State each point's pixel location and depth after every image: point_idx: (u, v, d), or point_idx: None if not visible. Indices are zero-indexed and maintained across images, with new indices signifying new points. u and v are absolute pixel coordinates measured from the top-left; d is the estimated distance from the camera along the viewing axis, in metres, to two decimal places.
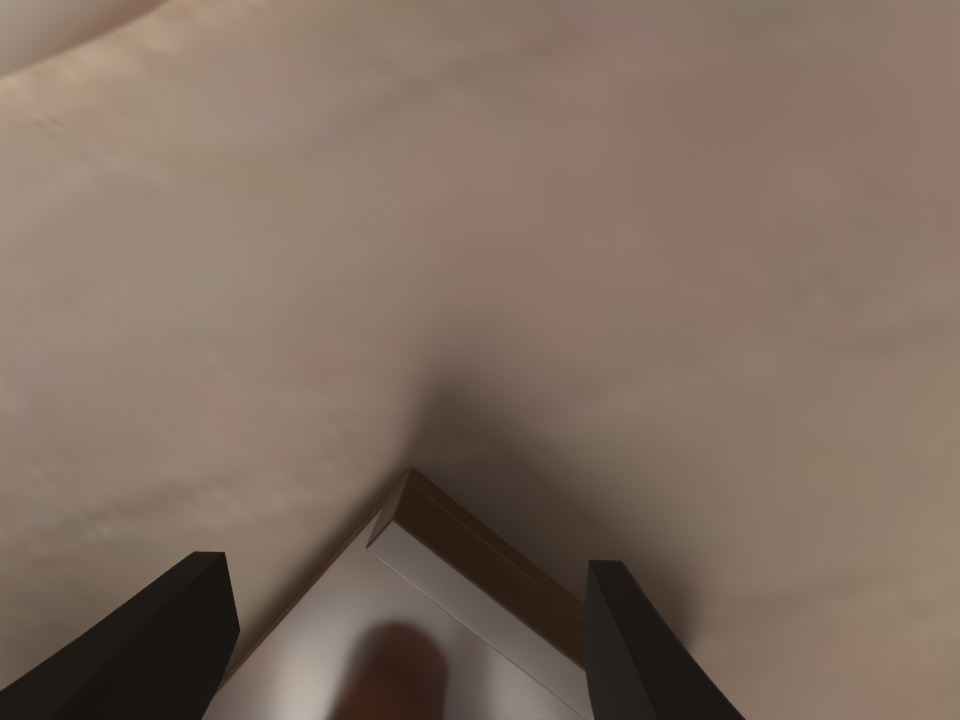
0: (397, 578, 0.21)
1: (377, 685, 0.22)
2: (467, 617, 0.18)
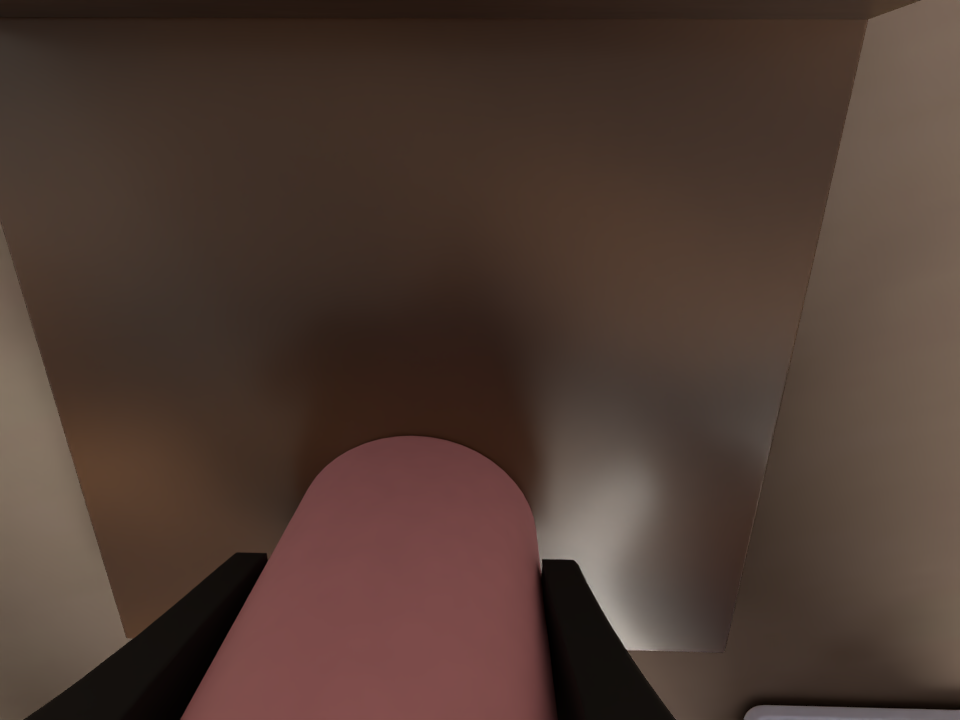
0: (106, 147, 0.09)
1: (277, 377, 0.11)
2: None
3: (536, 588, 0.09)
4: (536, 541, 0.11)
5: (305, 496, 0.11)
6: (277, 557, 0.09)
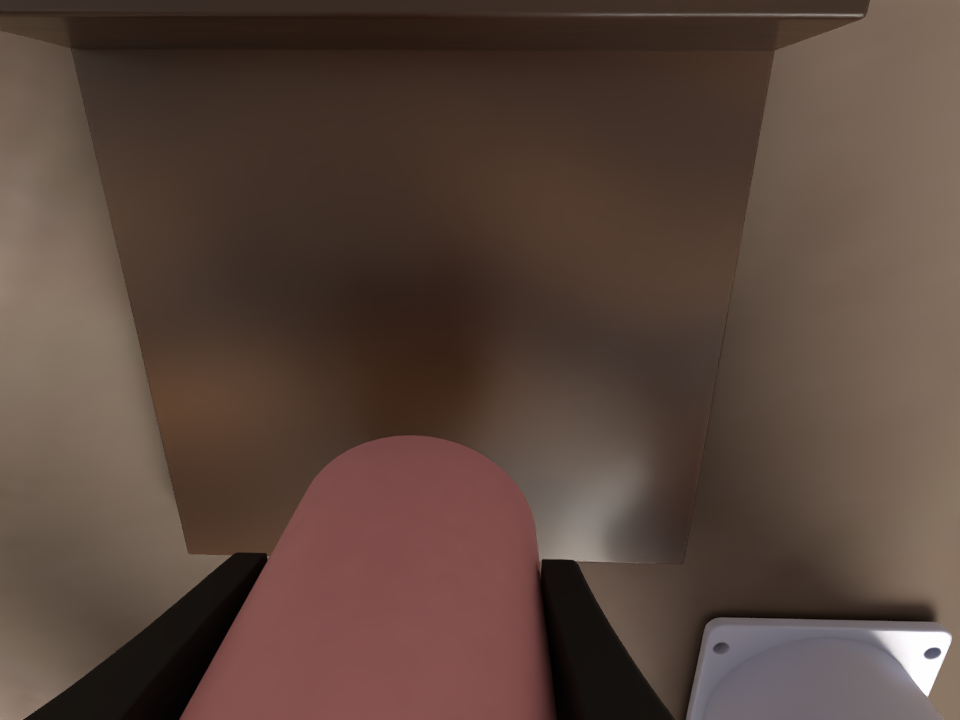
0: (193, 147, 0.12)
1: (320, 330, 0.14)
2: None
3: (535, 587, 0.09)
4: (536, 540, 0.11)
5: (305, 495, 0.11)
6: (277, 556, 0.09)
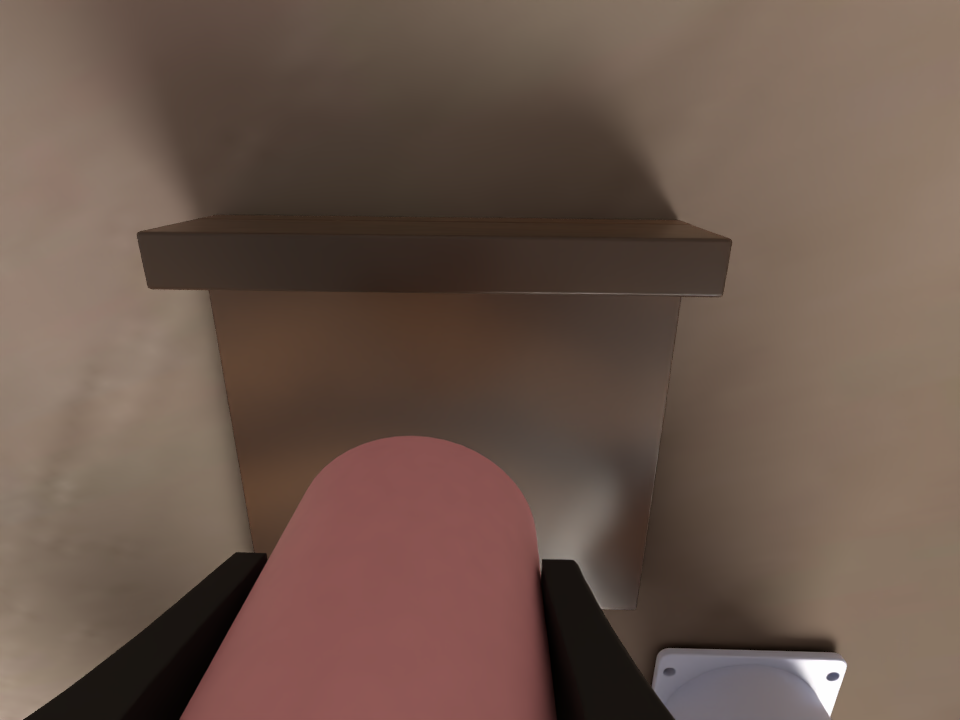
0: (284, 328, 0.18)
1: None
2: (301, 279, 0.14)
3: (535, 588, 0.09)
4: (536, 541, 0.11)
5: (304, 496, 0.11)
6: (276, 557, 0.09)
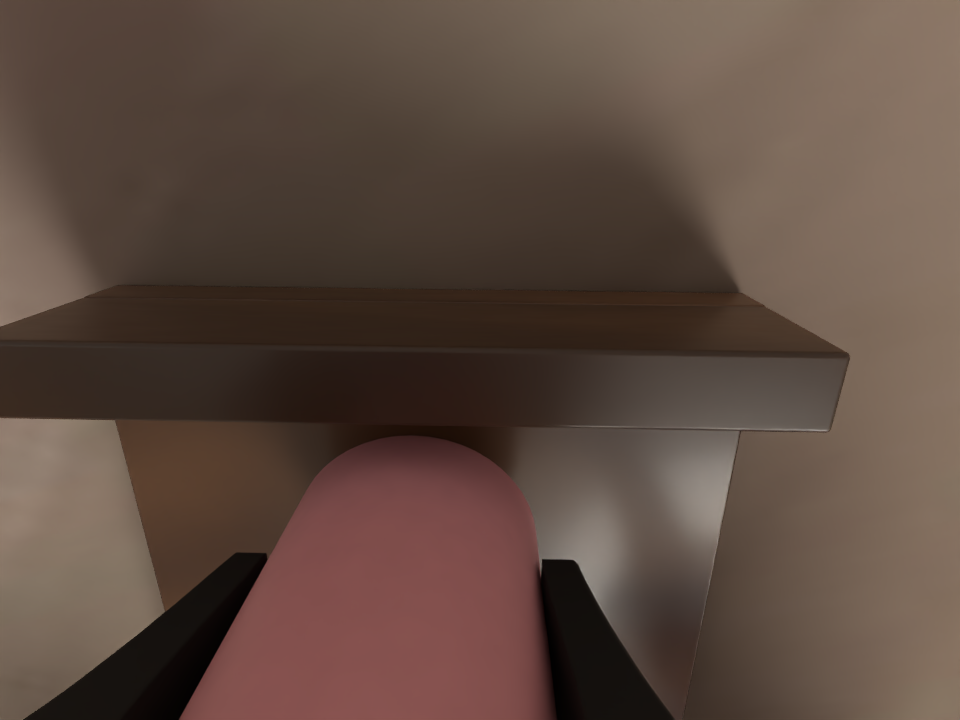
0: (212, 436, 0.13)
1: None
2: (208, 406, 0.09)
3: (535, 588, 0.09)
4: (536, 541, 0.11)
5: (304, 496, 0.11)
6: (276, 557, 0.09)
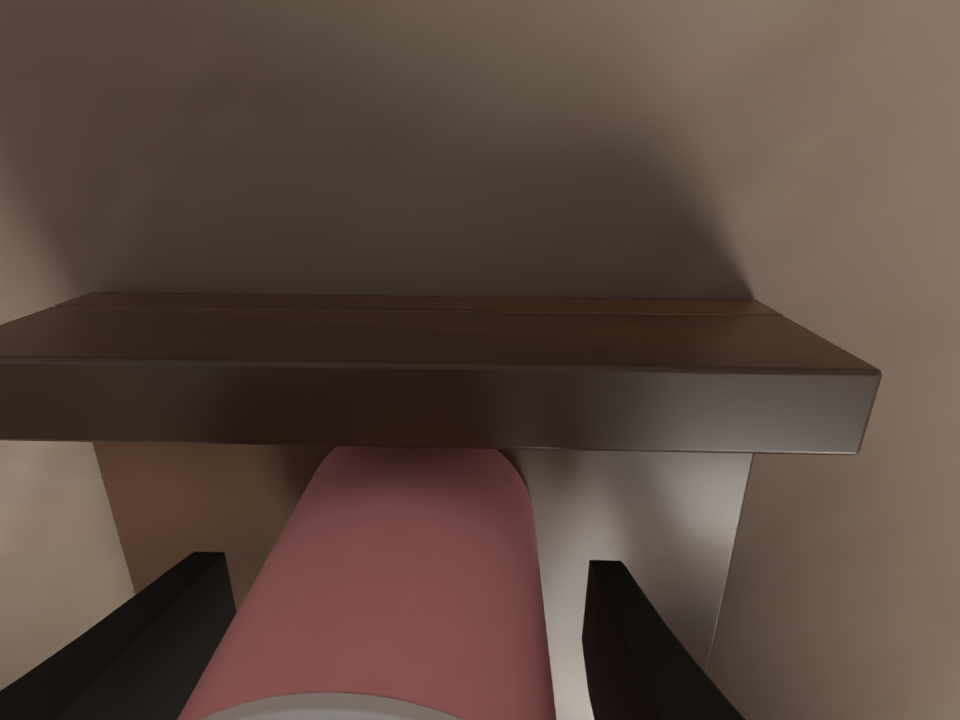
0: (193, 453, 0.12)
1: None
2: (182, 427, 0.09)
3: (532, 561, 0.10)
4: (533, 521, 0.12)
5: (313, 478, 0.12)
6: (289, 531, 0.10)
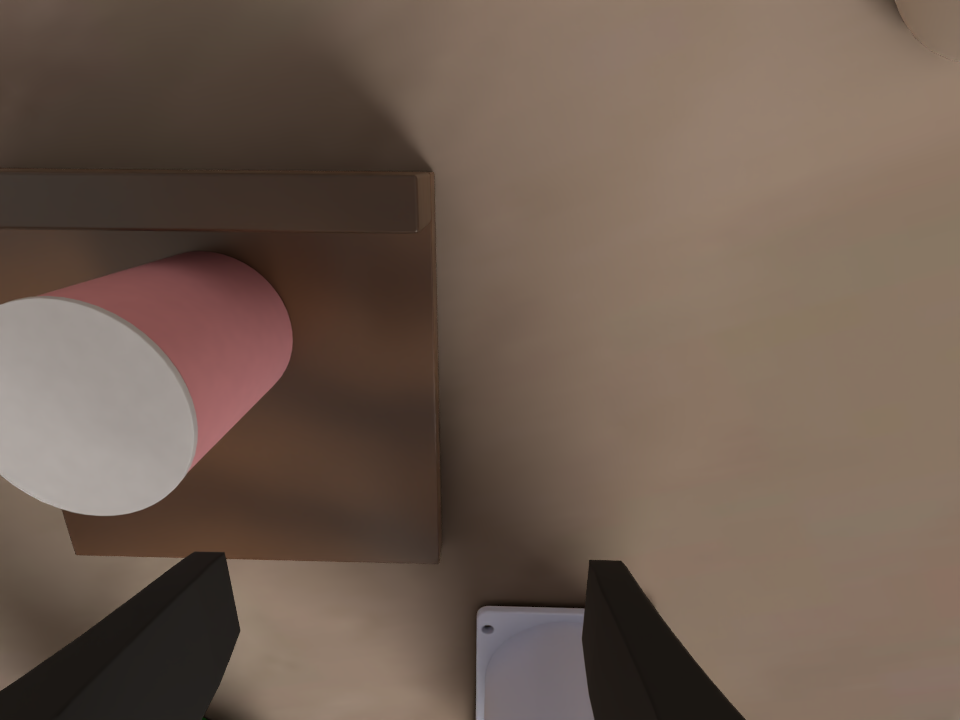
0: (56, 277, 0.18)
1: None
2: (14, 217, 0.15)
3: (249, 320, 0.16)
4: (278, 317, 0.18)
5: None
6: None
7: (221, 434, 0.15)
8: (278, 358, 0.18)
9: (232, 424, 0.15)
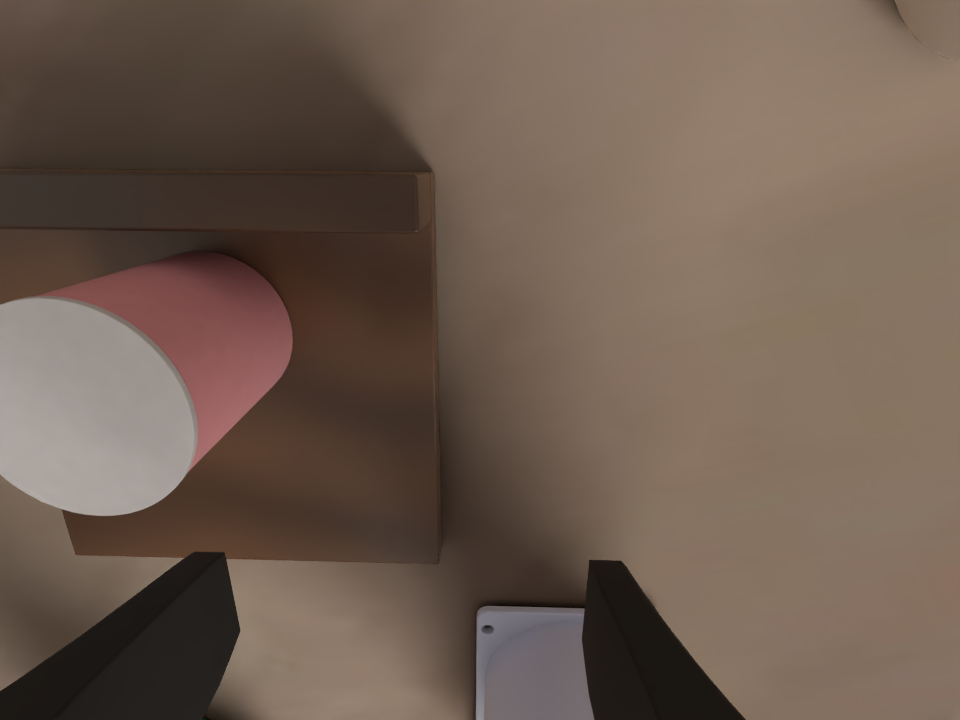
0: (56, 277, 0.18)
1: None
2: (14, 217, 0.15)
3: (249, 320, 0.16)
4: (278, 317, 0.18)
5: None
6: None
7: (221, 434, 0.15)
8: (278, 358, 0.18)
9: (232, 424, 0.15)
